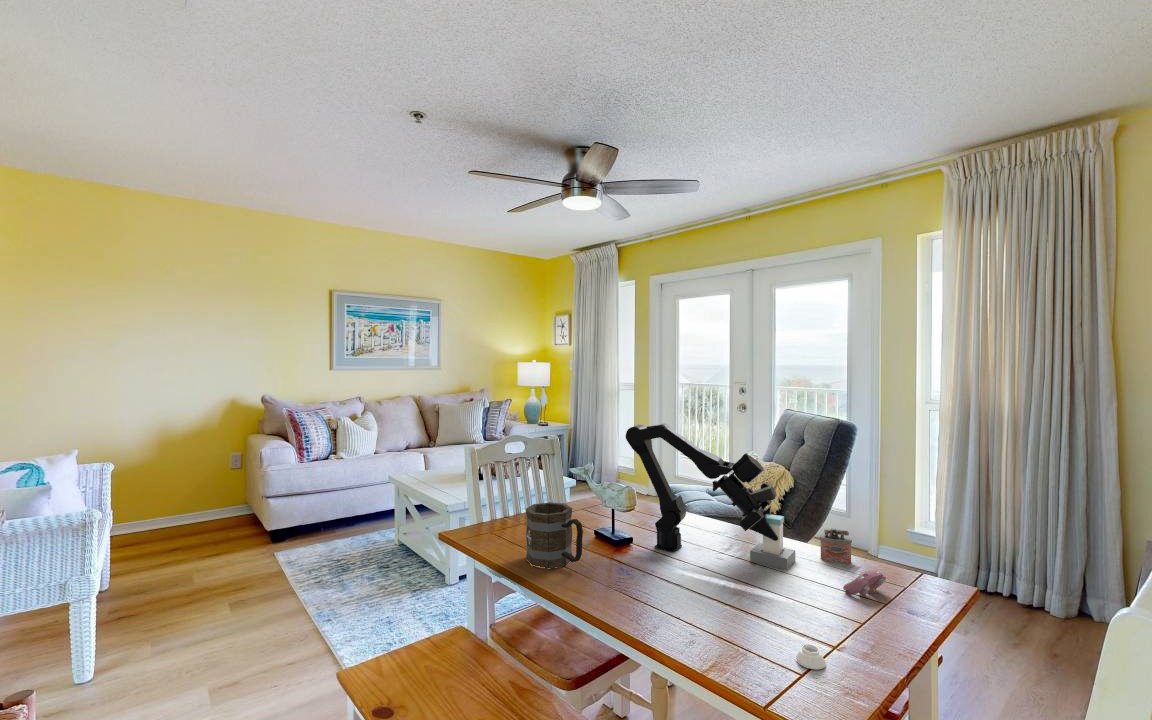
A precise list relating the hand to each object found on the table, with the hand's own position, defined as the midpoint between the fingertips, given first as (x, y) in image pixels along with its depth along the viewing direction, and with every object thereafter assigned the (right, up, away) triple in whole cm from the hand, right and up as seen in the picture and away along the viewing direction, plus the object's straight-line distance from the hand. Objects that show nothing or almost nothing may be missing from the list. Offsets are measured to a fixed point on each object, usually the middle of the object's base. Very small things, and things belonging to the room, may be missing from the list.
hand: (778, 537), depth 146 cm
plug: (-1, -7, 0) cm, 7 cm away
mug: (-62, -9, +3) cm, 63 cm away
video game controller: (+15, -8, -18) cm, 24 cm away
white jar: (-12, -8, -47) cm, 49 cm away
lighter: (+16, -8, +1) cm, 18 cm away
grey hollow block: (-1, -7, 0) cm, 7 cm away
